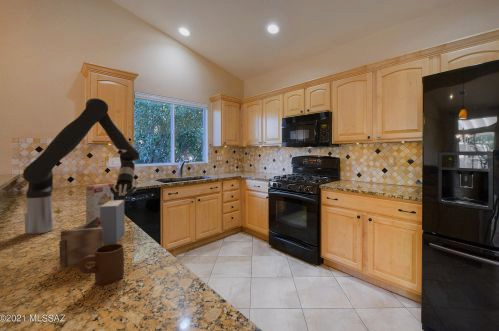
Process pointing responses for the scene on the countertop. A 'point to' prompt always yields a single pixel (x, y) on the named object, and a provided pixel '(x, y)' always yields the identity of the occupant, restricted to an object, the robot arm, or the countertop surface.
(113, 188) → the robot arm
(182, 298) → the countertop surface
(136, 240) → the countertop surface
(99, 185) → the cracker box
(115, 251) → the mug
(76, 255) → the shelf corner
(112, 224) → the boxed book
